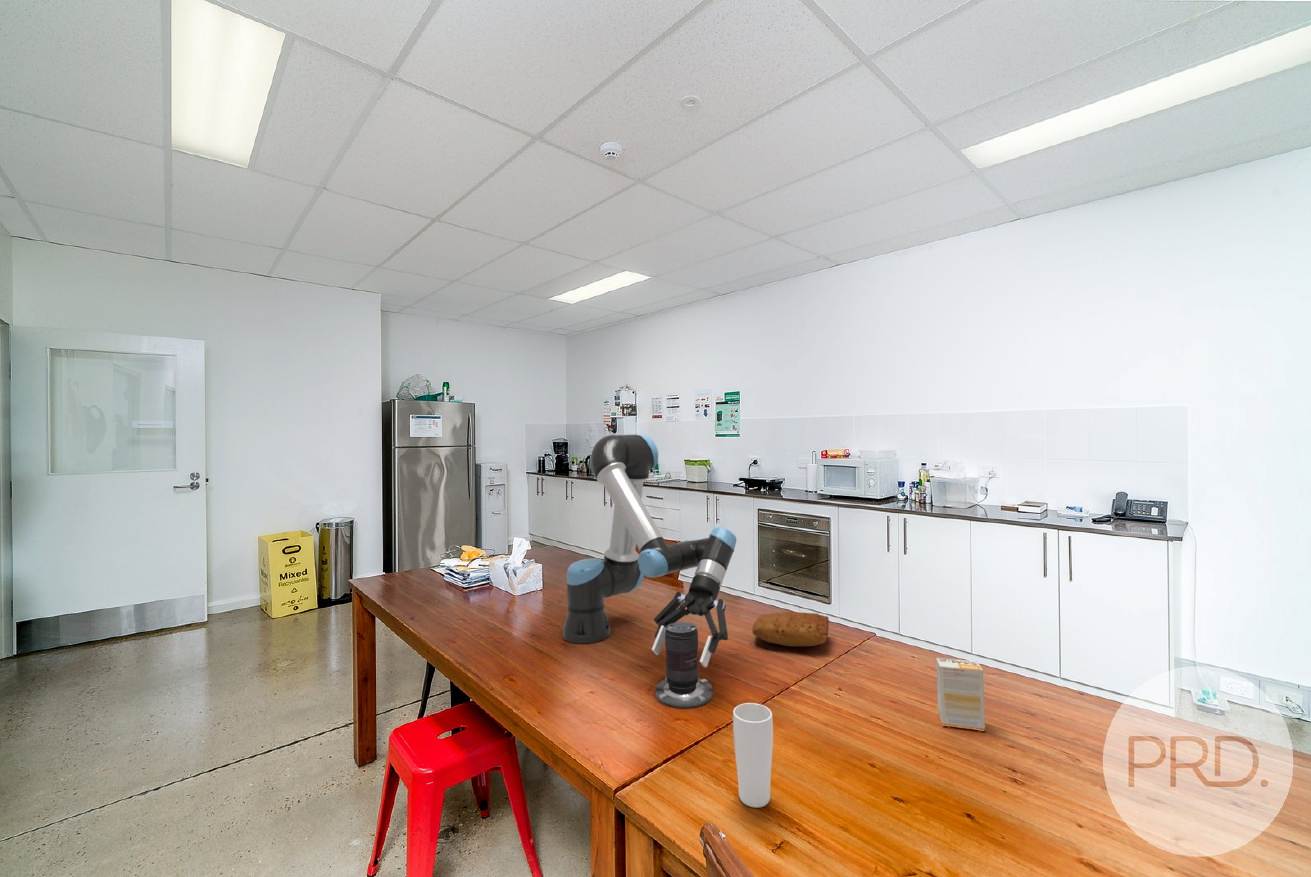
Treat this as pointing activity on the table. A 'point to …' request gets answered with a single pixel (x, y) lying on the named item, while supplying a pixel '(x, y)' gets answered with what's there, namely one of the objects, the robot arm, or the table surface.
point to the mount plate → (685, 695)
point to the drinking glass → (753, 752)
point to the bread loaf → (792, 628)
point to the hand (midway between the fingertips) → (678, 658)
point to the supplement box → (960, 693)
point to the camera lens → (681, 657)
